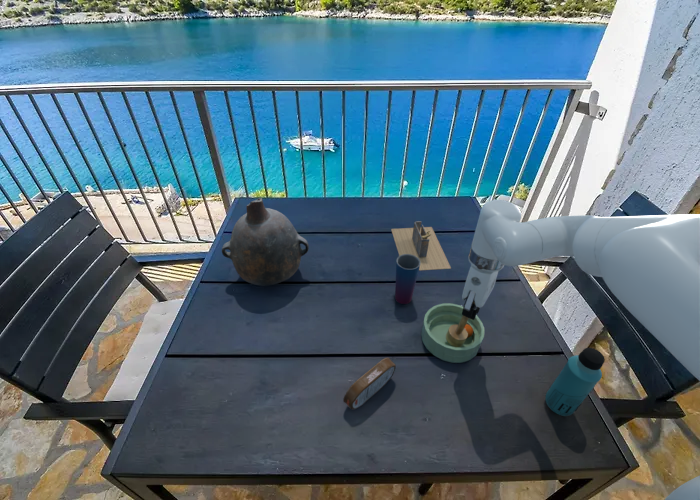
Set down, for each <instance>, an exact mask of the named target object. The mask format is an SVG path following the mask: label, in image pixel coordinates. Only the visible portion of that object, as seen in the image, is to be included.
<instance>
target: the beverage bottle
mask: <svg viewBox="0 0 700 500" xmlns="http://www.w3.org/2000/svg"><path fill="white" fill-rule="evenodd" d="M605 359H606V358H605V357H604V355H603V353H602V352H601V351H599V350H598V349H596V348H592V347H585V348H583V350H582V351H581V352H580V353H579V354H578V355H577V354H575V355H572V356H570V357H569V358H568V360H567V362H566V363H565V364H564V366H563V368H562V369H561V370H560V373H559V374H558V375H557V376H556V377H555V379H554V380H553V382H552V383H551V385H550V386H549V387H548V389H547V390H546V392H545V403H546V405H547V407H548V408H549V409H550V410H551V411H552V412H554V413H555V414H557V415H559V416H563V417H568V416H572V415H574V413H575V412H577V410H578V409H579V408H580V406H582V404H583V402H584V401H585V400H586V398H587V397H588V396H589V395H590V394H591V393H592V392H593V391H594V389H595V387H596V386H597V384H598V382H600V381H601V379H602V377H603V371H602V370H601V369H602V367H603V365H604V363H605V361H606V360H605Z"/></svg>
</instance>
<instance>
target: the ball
mask: <svg viewBox="0 0 700 500" xmlns="http://www.w3.org/2000/svg"><path fill="white" fill-rule="evenodd" d="M464 328H465V329H466V331H467V333H468V337H471V336H472V334H473V328H472V327H471V326H470V325H468V324H466V325H465V327H464ZM468 337H467V338H468Z"/></svg>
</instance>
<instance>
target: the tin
mask: <svg viewBox="0 0 700 500" xmlns="http://www.w3.org/2000/svg"><path fill="white" fill-rule="evenodd" d="M396 368H397V365H396V363H394V362H393V360H392V359H391V358H390V357H385V358H383V359H381V360H380V361H378V362H377V363H376V364H375V365H373V367H371V368H370V369H369V370H368V371H366V372H365V373H363V375H362V376H360V377H359V378H357V380H355V381H354V382H353V383H352V385H350V387H349V388H348V389H347V391H346V392H345V394H344V396H343V403H344V404H346V405H347V407H348V408H349V409H351V410H352V411H353V410H357V409H359V408H360V407H362V406H363V405H364V404H365V403H367V401H368V400H370V399H371V398H372V397H373V396H375V395H376V394H377V393H378V392H379V391H380V390H381V389H382V388H384V386H386V384H388V382H389V381H390V380H391V378H392V377H393V376H394V374H395V371H396Z"/></svg>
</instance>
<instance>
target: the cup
mask: <svg viewBox="0 0 700 500" xmlns="http://www.w3.org/2000/svg"><path fill="white" fill-rule="evenodd" d="M419 267H420V260H419V258H417V257H416V256H414V255H411V254H403V255H400V256H399V255H398V256H397V258H396V261H395V289H394V290H395V291H394V293H395V294H394V295H395V296H394V298H395V301H396V302H397V303H399V304H401V305H408V304H409V303H411V301H412V299H413V294H414V291H415V288H416V283H417V279H418V275H419V272H420V270H419Z"/></svg>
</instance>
